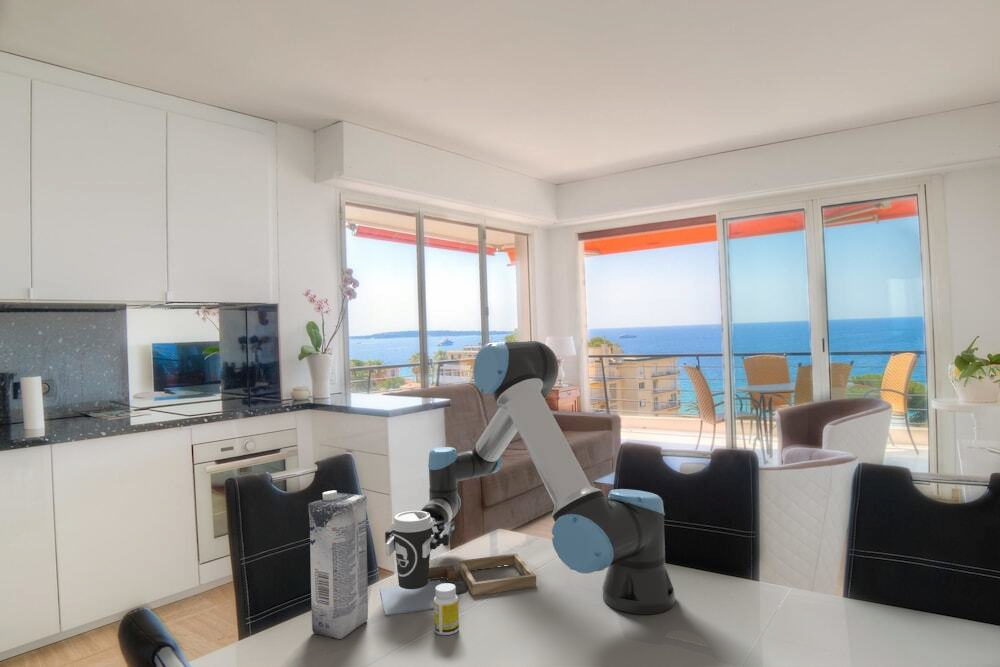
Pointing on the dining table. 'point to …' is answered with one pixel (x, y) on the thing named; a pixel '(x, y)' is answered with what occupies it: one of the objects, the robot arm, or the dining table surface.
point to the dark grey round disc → (460, 588)
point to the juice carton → (338, 563)
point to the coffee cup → (412, 547)
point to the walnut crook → (443, 573)
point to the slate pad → (408, 598)
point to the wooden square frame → (497, 584)
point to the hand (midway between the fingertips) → (405, 550)
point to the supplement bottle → (446, 609)
